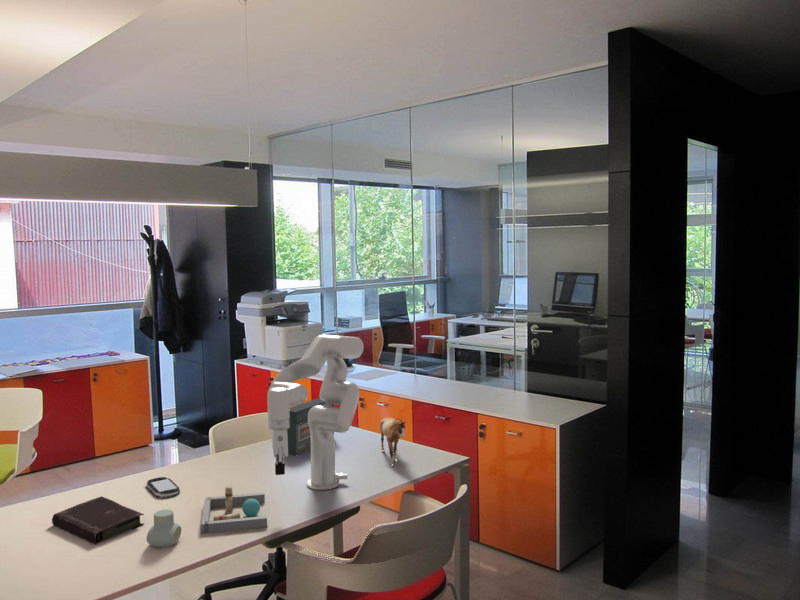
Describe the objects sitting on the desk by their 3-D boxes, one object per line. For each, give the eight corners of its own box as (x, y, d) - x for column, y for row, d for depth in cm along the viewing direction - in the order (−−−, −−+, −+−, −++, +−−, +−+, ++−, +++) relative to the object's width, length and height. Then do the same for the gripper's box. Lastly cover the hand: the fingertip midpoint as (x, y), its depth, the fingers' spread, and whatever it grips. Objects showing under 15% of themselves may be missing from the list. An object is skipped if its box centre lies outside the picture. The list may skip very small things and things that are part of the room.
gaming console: (144, 485, 254) (144, 479, 254) (167, 480, 259) (167, 474, 259) (158, 501, 238) (158, 494, 238) (182, 495, 244) (182, 489, 243)
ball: (237, 506, 226) (251, 513, 228) (239, 515, 220) (254, 522, 223) (248, 492, 226) (262, 500, 228) (251, 501, 220) (264, 509, 223)
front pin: (240, 521, 220) (214, 525, 217) (239, 518, 222) (213, 522, 219) (240, 514, 220) (214, 518, 217) (239, 511, 222) (213, 515, 219)
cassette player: (296, 455, 289) (295, 412, 287) (283, 453, 292) (283, 410, 290) (333, 438, 314) (333, 398, 312) (322, 436, 317) (321, 396, 315)
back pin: (232, 509, 230) (232, 486, 229) (232, 512, 228) (232, 488, 227) (225, 510, 229) (225, 486, 229) (225, 513, 227) (225, 489, 226)
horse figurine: (406, 469, 271) (406, 421, 270) (388, 470, 270) (388, 422, 268) (393, 446, 302) (393, 403, 300) (377, 447, 300) (377, 404, 299)
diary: (94, 548, 202) (93, 532, 202) (52, 528, 216) (51, 514, 216) (146, 525, 218) (146, 511, 217) (104, 508, 232) (103, 495, 231)
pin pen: (264, 500, 238) (264, 492, 238) (267, 526, 216) (267, 518, 216) (205, 505, 233) (205, 497, 233) (201, 533, 211) (201, 524, 211)
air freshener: (158, 535, 209) (157, 505, 209) (183, 535, 209) (182, 506, 208) (144, 551, 199) (143, 520, 198) (170, 552, 198) (169, 520, 197)
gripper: (291, 428, 219) (292, 480, 221) (288, 416, 234) (289, 465, 235) (269, 430, 217) (270, 482, 219) (267, 418, 232) (268, 467, 234)
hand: (280, 473), depth 227 cm, fingers closed
